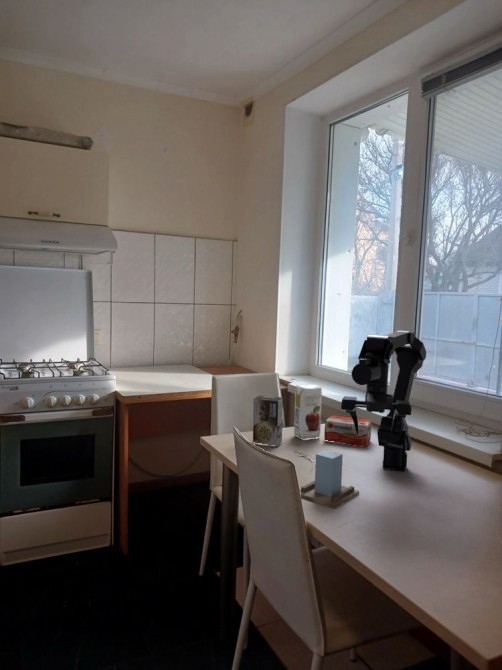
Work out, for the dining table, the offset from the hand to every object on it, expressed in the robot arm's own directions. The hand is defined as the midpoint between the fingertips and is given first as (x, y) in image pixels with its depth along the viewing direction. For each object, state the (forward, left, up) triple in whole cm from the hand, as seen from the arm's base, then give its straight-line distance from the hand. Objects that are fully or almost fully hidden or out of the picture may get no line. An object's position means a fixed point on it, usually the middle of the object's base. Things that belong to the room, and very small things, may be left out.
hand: (374, 435), depth 141 cm
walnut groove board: (-11, -14, -13) cm, 22 cm away
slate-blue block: (-11, -14, -12) cm, 22 cm away
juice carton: (-24, +36, -13) cm, 45 cm away
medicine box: (-10, +37, -13) cm, 40 cm away
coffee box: (-36, +24, -13) cm, 45 cm away
